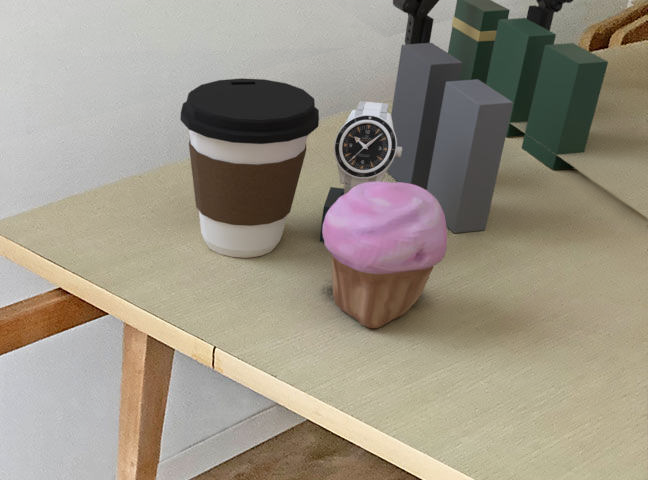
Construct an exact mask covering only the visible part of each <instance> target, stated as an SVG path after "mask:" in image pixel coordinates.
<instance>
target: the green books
mask: <svg viewBox="0 0 648 480" xmlns="http://www.w3.org/2000/svg"><path fill="white" fill-rule="evenodd" d="M526 18H527V17H520V18H519V17H518V18H508V19H501V20H499V22H498V27H497V32H496V37H495V42H494V47H493V52H492V57H491V62H490V67H489V71H488V76H487V81H486V85H487V86H489V87H490V88H492V89H494V90H495V91H497V92H498V93H500V94H501V95H503V96H504V97H506V98H507V99H509V100H510V101H512V102H513V106H512V110H511V115H510V119H509V124H508V129H507V133H506V138H516V137H523V140H522V144H521V149H522V150H523V151H525V152H526V153H528V154H529V155H530V156H532V157H534V158H535V159H536V160H537V161H539V162H540V163H542V164H543V165H545V166H546V167H548V168H549V169H550V170H552V171H558V170H567V169H576V167H575V166H574V165H572V164H570V163H569V162H568V161H566V160H565V159H563V158H562V157H560V156H559V155H568V154H569V155H570V154H580V153H585V150H586V146H587V144H588V139H589V136H590V131H591V128H592V123H593V122H594V121H593V120H594V116H595V113H596V109H597V106H598V102H599V99H600V94H601V90H602V86H603V83H604V80H605V76H606V72H607V68H608V64H609V61H608V60H606V59H604V58H602V57H600V56H598V55H597V54H594V53H593V52H590V51H589V50H587V49H585V48H584V47H581V46H579V45H577V44H576V43H574V42H570V43H569V42H568V43H555V40H556V36H557V34H556V33H554V32H553V31H551V30H550V31H549V30H547V29H545V28H543V27H541V26H539V25H537V24H535V23H534V22H532V21H530V20H528V19H526ZM526 122H527V123H526ZM513 123H526V127H525V131H522V130H521V129H520V128H518V127H516V126H515V125H514V124H513Z"/></svg>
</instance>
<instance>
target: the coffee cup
mask: <svg viewBox="0 0 648 480" xmlns="http://www.w3.org/2000/svg"><path fill="white" fill-rule="evenodd" d="M315 102H316V101H315V98H314V97H313V96H312V95H310V94H309V92H307V91H306V90H304V89H303V88H300V87H298V86H295V85H292V84H289V83H286V82H281V81H275V80H269V79H263V78H262V79H261V78H241V77H240V78H230V79H229V78H228V79H218V80H213V81H210V82H206V83H202V84H200V85H199V86H197V87H195V88H193V89H192V90H190V91H189V92H188V93H187V98H186V101H184V102H183V103H182V106H181V110H180V118H179V119H180V121H181V123H182V124H183V125H184V126H185V127H186V128H187V129H188V130H189V132H188V133H189V142H188V148H189V157H190V167H191V174H192V175H191V176H192V183H193V193H194V201H195V207H196V209H197V210H198V216H199V225H200V234H201V236H202V238H203V240H204V243H205V244H206V246H207V247H208V248H209V249H210V250H212V251H213V252H215V253H217V254H219V255H223V256H226V257H230V258H241V259H242V258H243V259H244V258H245V259H248V258H257V257H261V256H264V255H267V254H270V253H271V252H272V251H273V250H275V248H276V247H277V246H278V244H279V243H280V241H281V240H282V237H283V233H284V229H285V225H286V222H287V221H286V220H287V217H288V215H289V214H290V213H291V210H292V206H293V203H294V198H295V196H296V191H297V188H298V183H299V180H300V175H301V172H302V168H303V165H304V160H305V158H306V153H307V141H308V138H309V135H310V134H311V133H313V132H314V131H315V130H316V129H318V128H319V123H320V114H319V109H318V108H317V107H316V103H315Z"/></svg>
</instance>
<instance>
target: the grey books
mask: <svg viewBox="0 0 648 480" xmlns="http://www.w3.org/2000/svg"><path fill="white" fill-rule="evenodd" d="M461 67H462V62H461V61H459V60H458V59H456V58H455V57H453V56H452V55H450V54H448V51H445V50H444V49H442V48H440V47H439V46H438V45H436V44H435V43H433V42H430V43H421V44H406V45H405V44H401V47H400V54H399V61H398V67H397V72H396V73H397V74H396V80H395V86H394V94H393V99H392V100H393V101H392V106H391V113H390V114H391V116H392V122H393V129H394V132H395V135H396V138H397V139H396V140H397V146H398V147H402V154H401V157H396V155H395V157H394V159H393V162H392V163H391V165H390V167H389V169H388V171H387V172H386V174H388V175H389V176H390V177H392V178H393V179H394V181H396V183H397V182H401V183H408V184H413V185H416V186H419V187H421V188H423V189H425V190H427V191H428V192H429V193H431V194H432V195H433V196H434V197H435V198H436V199H437V200H438V202H439V204H440V206H441V208H442V210H443V212H444V215H445V220H446V227H447V229H448V230H449V231H451V232H452V233H453V234H461V233H472V232H481V231H486V228H487V224H488V220H489V215H490V210H491V207H492V202H493V196H494V192H495V187H496V184H497V183H496V182H497V178H498V174H499V171H500V170H499V169H500V165H501V159H502V155H503V151H504V147H505V142H506V138H507V137H506V133H507V129H508V124H509V119H510V115H511V110H512V106H513V102H512V101H510V100H509V99H507V98H506V97H504V96H503V95H501V94H500V93H498V92H497V91H495V90H494V89H492V88H490V87H489V86H487V85H486V84H484V83H483V82H481V81H480V80H478V79H475V80H462V81H459V78H460V73H461Z"/></svg>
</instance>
